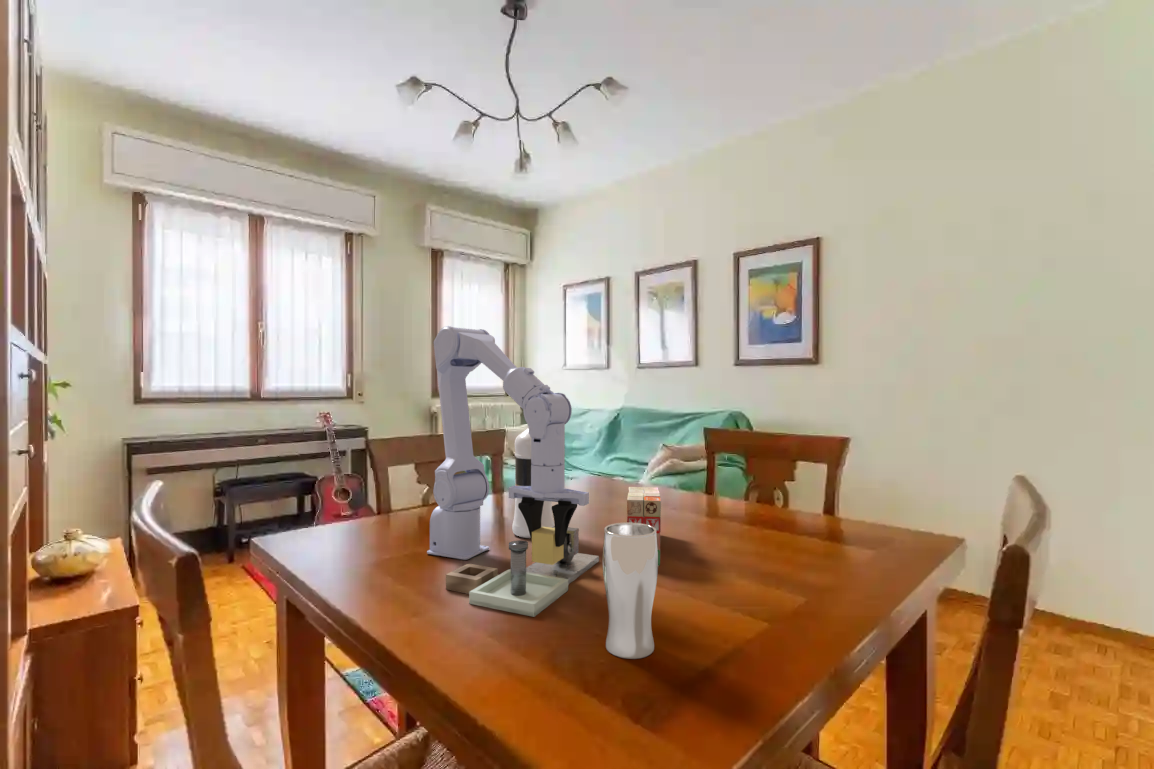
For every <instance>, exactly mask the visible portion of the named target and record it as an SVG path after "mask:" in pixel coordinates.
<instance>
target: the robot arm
mask: <svg viewBox="0 0 1154 769" xmlns="http://www.w3.org/2000/svg"><path fill="white" fill-rule="evenodd" d="M433 348H434V349H433V350H434V359H435V361H434V362H435V369H436V373H437V374H436V375H437V383H438V384H437V385H438V393H439V403H440V405H439V406H440V412H441V413H440V414H441V424H442V432H443V433H442V434H443V444H444V453H445V454H444V455H445V459H444V461H443V462H442V463H440V465H439V466H437V468H436V469H435V470H434V485H433V492H432V493H433V497H434V501H435V503H437V505H438V506H436V507H435V508H434V509H433V510H432V512H431V515H430V517H429V518H430V519H429V549H428V550H427V551H426V554H428V555H433V556H441V557H445V558H446V557H447V558H452V559H457V560H464V561H466V560H469V559H471V558H474V557H475V556H478V555H479V554H481V553H483V552H486V551H488V550H489V549H490V546H488V545H483V544H481V506H484V501H485V500H486V499H487V497H488V496H489V492H490V482H489V479H488V476H487V475H486V472H485V471H486V470H485V464H483V462H482V461H480V460H479V459H478V458H476V457H475V455H474V449H473V440H472V429H471V428H472V427H471V421H470V420H471V419H470V409H469V402H468V401H469V400H468V391H467V382H466V381H467V380H466V378H467V377H468V375H469V374H470V373H471V372H473V371H474V370H475V369H477V368H478V367H479V366H480V365H481V364H483V365H484V366H485V367H486V368H487V369H488V370H490V372H492V373H493V374H494V375H496V376H497V377H498V378H499V379H500V380H501V381H503V382H502V388H503V391H504V392H505V393H506V394H507V396H509V397H510V398H511V399H512V400H513V401H514V402H515V403H516V404H517V405H518V406H519V408H521V409H522V410H523V411H522V412H523V417H524V420H525V423H526V424H527V428H528V427H529V434H530V437H531V486H515V485H512V486H509V487H508V499H515V498H521V499H522V501H521V503H519V504H518V508H519V509H520V511H521V513H522V515H523V516H524V519H525V521H526V524H527V526H528V530H529V533H530V538H531V539H530V538H529V539H530V542H531V543H532V532H533V531H535V530H537V529H539V528H541V518H542V510H543V504H544V501H551V502H552V503H556V504H554V505H552V515H553V521H554V526H555V546H556V547H560V546H562V545H563V544H564V542H565V537H566V533H567V529H568V527H569V525H570V523H571V520H572V518H573V515H574V513H575V512H576V510H577V508H578V506H582V507H584V506H587V505H589V504H590V492H589V491H581V490H577V489H576V490H575V489H571V488H566V487H565V486H566V484H565V476H566V475H565V472H566V470H565V465H566V464H565V454H566V453H565V452H566V450H565V449H566V448H565V447H566V446H565V445H566V444H565V435H566V434H565V431H566V430H565V429H566V427H565V426H566V424H567V423H569V421H570V419H571V416H572V413H573V412H572V411H573V410H572V405H571V402H570V399H569V398H568V397H567V396H566V394H565V393H563V392H554V391H552V390H551V387H550V386H549V385H548V384H544V383H543V382H542V381H541V380H540V379H539V378H538V377H537V376H535V371H534V370H533V369H532V368H531V367H525V366H519V367H517V366H516V365H515V364H514V363H513V361H512V360H510V358H509V357H508V355H506V354H505V353H504V351H502V349H501V348H500V347H499V346H498V345H497V343H496V339H495V337H494V336H493V335H491V334H490V333H489V332H488V330H486V329H480V328H479V329H473V328H465V327H454V326H452V325H445V326H443V327H442V328H441V329H440V330H439V331H438V333H437V335H436V336H435V339H434V340H433ZM463 471H464V472H463ZM458 472H462V473H458ZM456 473H457V474H456Z"/></svg>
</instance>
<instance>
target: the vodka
mask: <svg viewBox="0 0 1154 769" xmlns="http://www.w3.org/2000/svg"><path fill="white" fill-rule="evenodd" d="M514 457H515V459H514V464H515V465H514V466H515V467H514V468H515V469H514V473H515V474H514V475H515V476H514V477H515V479H514V480H515V481H514V482H515V483H514V484H515V485H514V486H531V437H530V434H529V427H528V426H527V427H526V429H525V430H523V431H522V432H520V433H519V434H517V436H516V437H515V439H514ZM514 499H515V500H514V501H515V502H514V512H513V513H514V514H513V521H512V524H511V525H512V526H511V527H512V529H511V530H512V532H513V534H514V535H515V536H517V537H518V536H519V538H522V539H530V533H529V530H528V526H527V524H526V521H525V519H524V516H523V515H522V513H521V511H520V509H519V508H518V504H519V503H521V501H522V499H521V498H514ZM552 503H553V502H551V501H544V504H543V510H542V518H541V527H553V526H555V524H554V517H553V512H552V506H553V505H552Z"/></svg>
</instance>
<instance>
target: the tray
mask: <svg viewBox="0 0 1154 769" xmlns="http://www.w3.org/2000/svg"><path fill="white" fill-rule="evenodd" d="M568 591H569V584H568V579H564V578H558V577H552V576H546V575H540V574H534V573H528V572H526V594H525V595H522V596H513V595H511V568H510V569H507V570H505V571H503V572H501V573H500V574H498V576H496V577H494V578H492V579H491V580H489V581H487V582H485V583H484V584H482V585H480V586H478V587H477V588H475V589H473V590H471V591H470V592H469V594H468V595H469V596H468V597H469V599H468V604H470V605H474V606H479V607H484V608H488V609H493V610H497V611H504V612H509V613H513V614H518V615H523V616H527V617H528V616H529V617H532V618H533V617H534V618H535V617H536V616H538V615H539V614H540V613H541V612H542V611H544V610H545V609H546V608H548V607H549V606H551V604H553V603H554V602H555V601H557V600H558V599H559V598H560V597H562V596H563V595H564V594H565V593H567V592H568Z"/></svg>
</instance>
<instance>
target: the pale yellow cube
mask: <svg viewBox="0 0 1154 769" xmlns="http://www.w3.org/2000/svg"><path fill="white" fill-rule="evenodd" d="M563 558H564V544H563V545H562V546H560V547H556V546H555V528H551V527H541V528H539V529H537V530H535V531H533V532H532V542H531V562H532V563H535V562H537V563H544V564H550V565H554V564H555V563H557V562H558V561H560V560H561V559H563Z"/></svg>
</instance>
